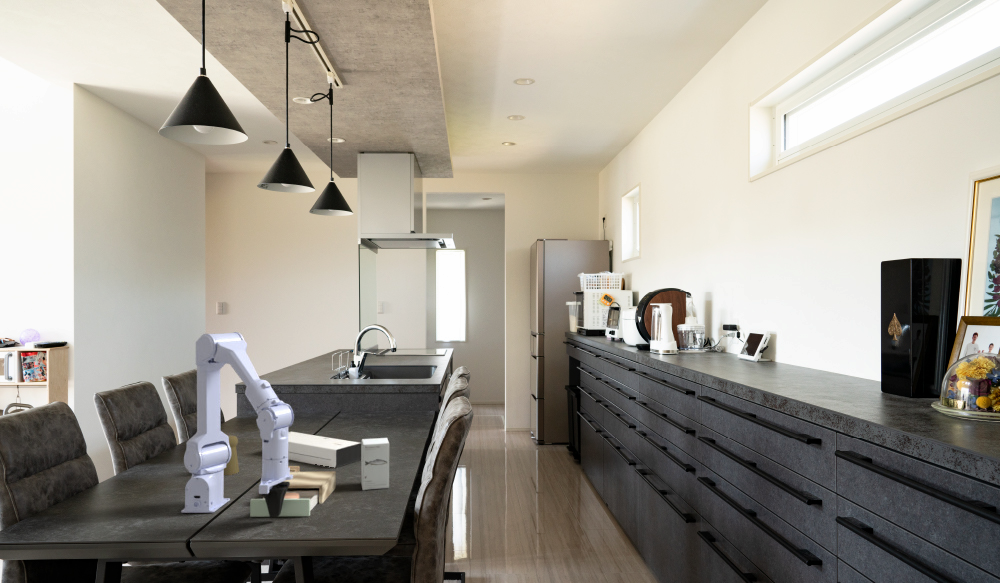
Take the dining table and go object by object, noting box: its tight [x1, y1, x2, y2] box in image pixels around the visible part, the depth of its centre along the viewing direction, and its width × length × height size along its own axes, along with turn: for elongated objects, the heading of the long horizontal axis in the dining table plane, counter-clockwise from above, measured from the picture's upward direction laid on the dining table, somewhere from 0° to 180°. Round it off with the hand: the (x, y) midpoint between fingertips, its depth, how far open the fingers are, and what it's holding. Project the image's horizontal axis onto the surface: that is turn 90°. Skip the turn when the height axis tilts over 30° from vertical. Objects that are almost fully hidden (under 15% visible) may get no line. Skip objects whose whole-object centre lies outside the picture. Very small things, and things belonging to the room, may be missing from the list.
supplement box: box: [360, 437, 390, 491], centre depth 168 cm, size 7×7×13 cm
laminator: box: [288, 431, 361, 469], centre depth 198 cm, size 34×12×6 cm, turn 59°
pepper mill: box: [224, 435, 240, 476], centre depth 181 cm, size 6×6×11 cm
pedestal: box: [288, 465, 301, 472], centre depth 171 cm, size 4×4×4 cm
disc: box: [284, 493, 299, 499], centre depth 149 cm, size 6×6×2 cm
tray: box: [249, 490, 319, 518], centre depth 150 cm, size 13×14×4 cm
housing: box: [262, 470, 337, 504], centre depth 159 cm, size 13×15×5 cm
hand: (274, 515), depth 140 cm, fingers closed
